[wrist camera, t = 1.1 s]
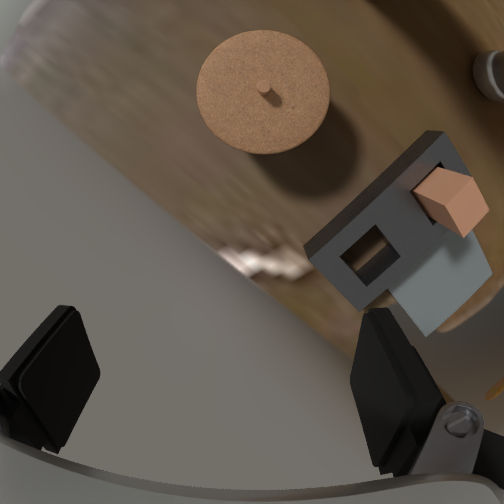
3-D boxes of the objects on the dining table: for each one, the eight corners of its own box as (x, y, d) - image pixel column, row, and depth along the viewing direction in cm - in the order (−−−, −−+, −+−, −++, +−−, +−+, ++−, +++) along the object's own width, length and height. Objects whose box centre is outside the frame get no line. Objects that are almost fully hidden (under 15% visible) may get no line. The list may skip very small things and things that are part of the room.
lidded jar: (264, 170, 32) (267, 185, 24) (189, 104, 30) (163, 94, 21) (335, 100, 29) (363, 90, 21) (259, 33, 27) (260, -1, 18)
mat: (462, 213, 33) (463, 214, 33) (491, 272, 36) (492, 273, 36) (385, 286, 37) (386, 287, 37) (424, 335, 40) (425, 337, 40)
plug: (422, 162, 31) (472, 177, 22) (439, 188, 32) (489, 210, 23) (399, 185, 32) (445, 206, 23) (417, 210, 33) (463, 238, 24)
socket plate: (426, 130, 30) (444, 131, 26) (463, 188, 32) (481, 195, 28) (303, 245, 35) (308, 259, 32) (350, 294, 37) (359, 312, 34)
